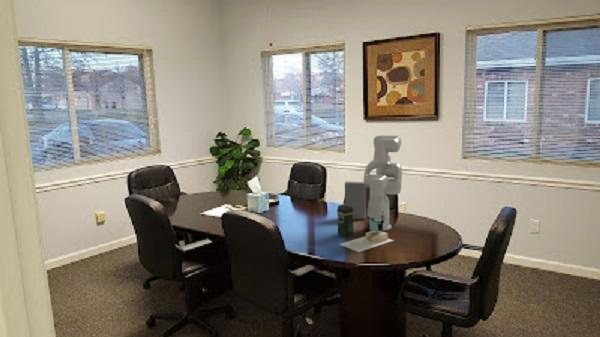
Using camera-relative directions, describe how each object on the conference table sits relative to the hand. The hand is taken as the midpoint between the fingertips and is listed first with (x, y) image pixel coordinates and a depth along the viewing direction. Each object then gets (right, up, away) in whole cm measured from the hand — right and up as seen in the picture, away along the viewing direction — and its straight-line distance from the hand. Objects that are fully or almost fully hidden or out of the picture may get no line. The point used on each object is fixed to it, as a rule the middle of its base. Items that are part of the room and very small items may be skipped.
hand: (376, 228), depth 263 cm
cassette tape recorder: (-7, +1, +46) cm, 47 cm away
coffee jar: (-17, -6, +12) cm, 21 cm away
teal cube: (0, -1, 0) cm, 1 cm away
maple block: (0, -6, +1) cm, 7 cm away
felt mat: (-6, -8, -2) cm, 10 cm away
